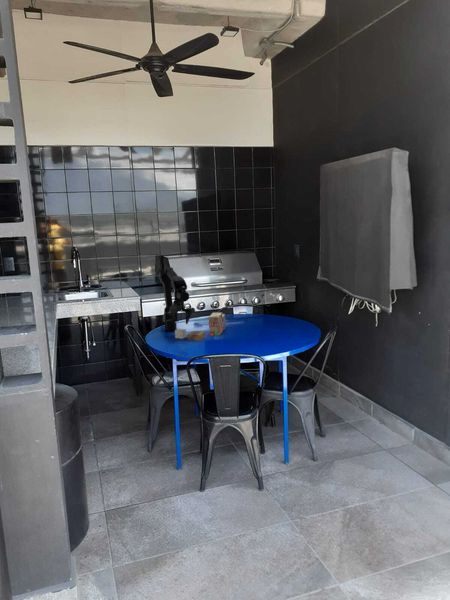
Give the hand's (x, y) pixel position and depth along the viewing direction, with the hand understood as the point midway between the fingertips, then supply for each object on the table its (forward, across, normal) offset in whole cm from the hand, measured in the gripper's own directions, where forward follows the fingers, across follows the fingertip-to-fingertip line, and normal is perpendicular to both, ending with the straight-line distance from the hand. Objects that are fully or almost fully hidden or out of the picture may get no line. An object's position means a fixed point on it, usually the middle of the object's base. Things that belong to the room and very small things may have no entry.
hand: (180, 323), depth 279 cm
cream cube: (+9, 0, 0) cm, 9 cm away
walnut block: (+9, +11, 0) cm, 14 cm away
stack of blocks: (+9, +16, +20) cm, 27 cm away
